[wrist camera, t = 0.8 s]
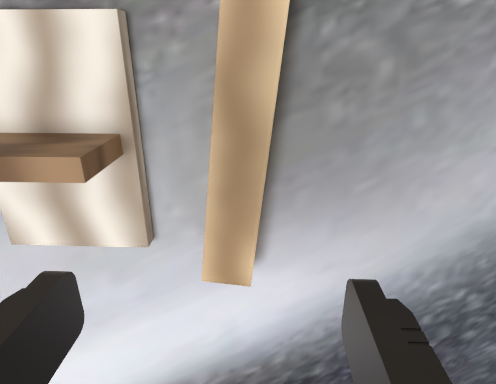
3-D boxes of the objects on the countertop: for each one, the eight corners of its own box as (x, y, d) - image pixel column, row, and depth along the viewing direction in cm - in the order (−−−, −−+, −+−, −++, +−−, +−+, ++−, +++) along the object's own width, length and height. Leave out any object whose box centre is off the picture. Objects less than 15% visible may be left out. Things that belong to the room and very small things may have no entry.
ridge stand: (125, 11, 23) (67, -5, 17) (153, 238, 30) (121, 293, 24) (-44, 12, 24) (-168, -3, 17) (22, 235, 31) (-47, 289, 24)
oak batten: (288, -18, 23) (294, -31, 19) (252, 258, 31) (250, 286, 28) (229, -25, 23) (223, -40, 19) (208, 253, 31) (201, 280, 28)
